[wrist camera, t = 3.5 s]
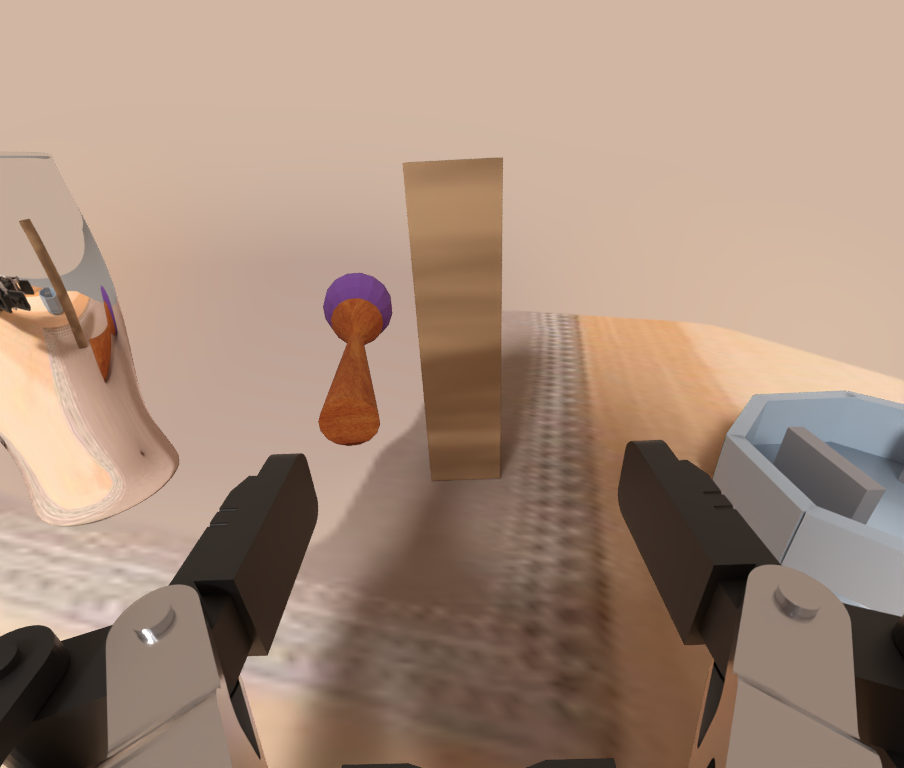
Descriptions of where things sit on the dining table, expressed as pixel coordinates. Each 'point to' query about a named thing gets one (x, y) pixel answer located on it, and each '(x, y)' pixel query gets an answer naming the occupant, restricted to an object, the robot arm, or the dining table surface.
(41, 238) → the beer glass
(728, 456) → the blue-grey octagonal holder
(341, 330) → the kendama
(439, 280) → the wooden block
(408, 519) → the dining table surface
